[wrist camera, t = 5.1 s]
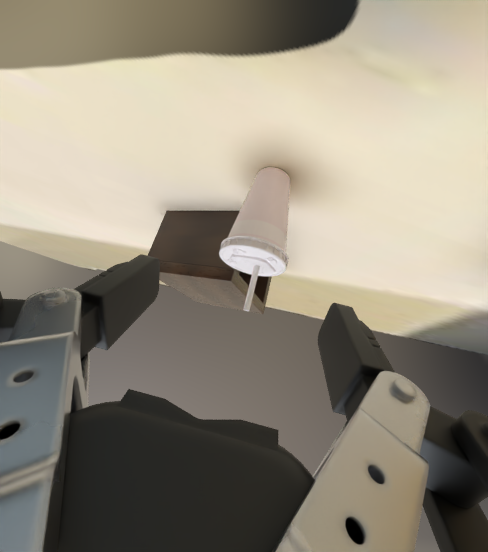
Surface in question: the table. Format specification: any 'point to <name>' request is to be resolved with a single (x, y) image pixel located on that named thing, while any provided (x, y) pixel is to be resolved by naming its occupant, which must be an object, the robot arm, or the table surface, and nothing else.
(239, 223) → the smoothie
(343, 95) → the table surface
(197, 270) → the shelf
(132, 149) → the table surface
